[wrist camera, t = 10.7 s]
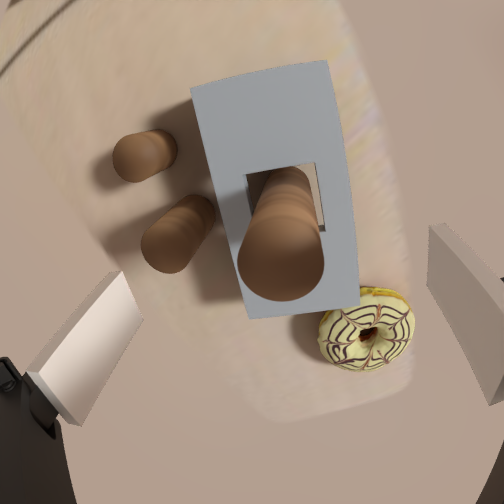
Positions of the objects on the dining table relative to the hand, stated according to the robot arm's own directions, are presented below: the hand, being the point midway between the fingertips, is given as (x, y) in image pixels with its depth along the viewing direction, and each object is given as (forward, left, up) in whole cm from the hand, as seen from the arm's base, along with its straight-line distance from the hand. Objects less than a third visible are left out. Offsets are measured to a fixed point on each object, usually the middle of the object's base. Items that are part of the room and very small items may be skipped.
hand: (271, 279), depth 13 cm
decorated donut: (+16, +6, -17) cm, 25 cm away
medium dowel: (+1, -9, -17) cm, 19 cm away
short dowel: (-6, -11, -17) cm, 21 cm away
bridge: (0, 0, -17) cm, 17 cm away
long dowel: (0, 0, -17) cm, 17 cm away
